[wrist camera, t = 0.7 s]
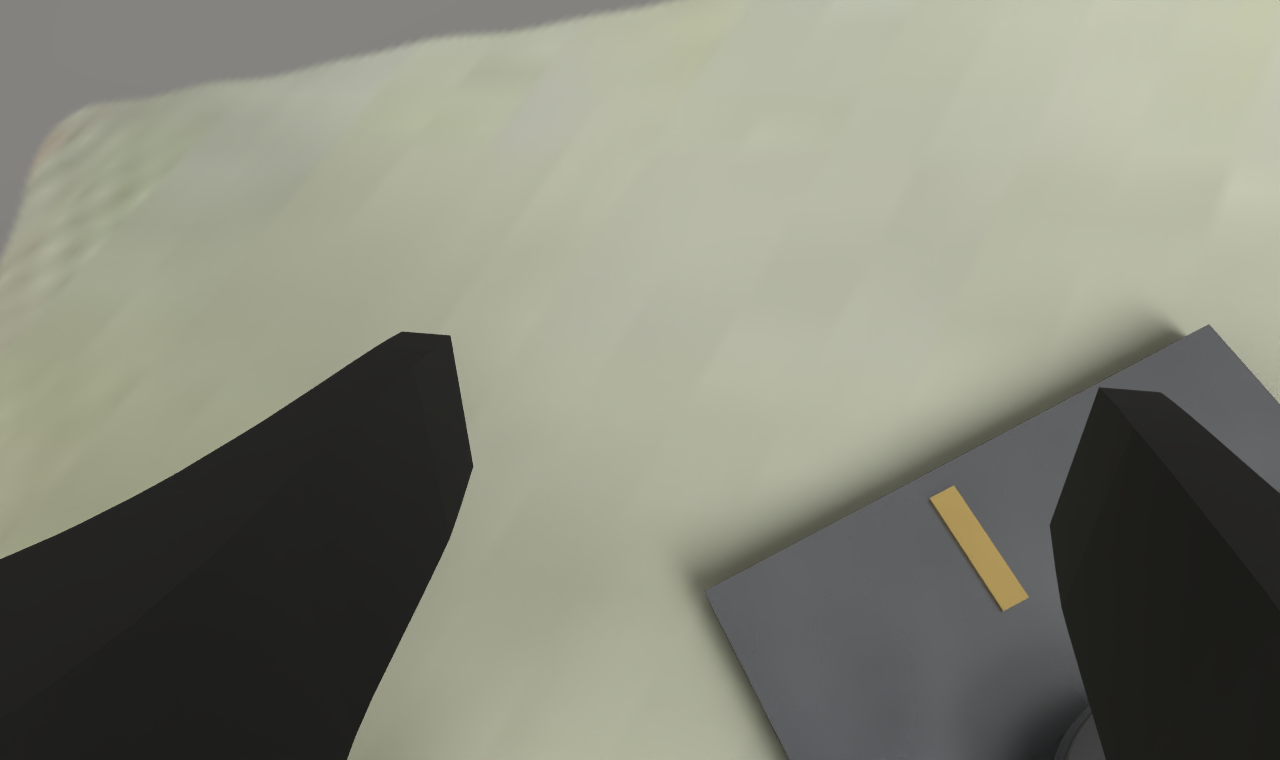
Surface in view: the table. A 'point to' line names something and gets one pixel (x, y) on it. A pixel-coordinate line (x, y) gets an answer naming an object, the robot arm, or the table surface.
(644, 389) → the table surface
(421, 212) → the table surface
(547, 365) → the table surface
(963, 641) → the lever base
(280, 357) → the table surface
